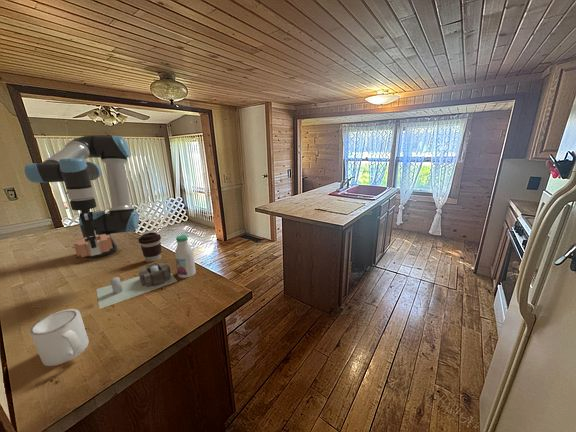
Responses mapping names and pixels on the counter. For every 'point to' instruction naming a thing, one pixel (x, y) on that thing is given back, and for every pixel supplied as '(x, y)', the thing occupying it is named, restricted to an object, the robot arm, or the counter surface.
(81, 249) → the gear
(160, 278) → the gear
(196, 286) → the counter surface
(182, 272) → the milk bottle
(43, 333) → the mug
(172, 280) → the board
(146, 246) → the coffee cup
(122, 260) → the counter surface
